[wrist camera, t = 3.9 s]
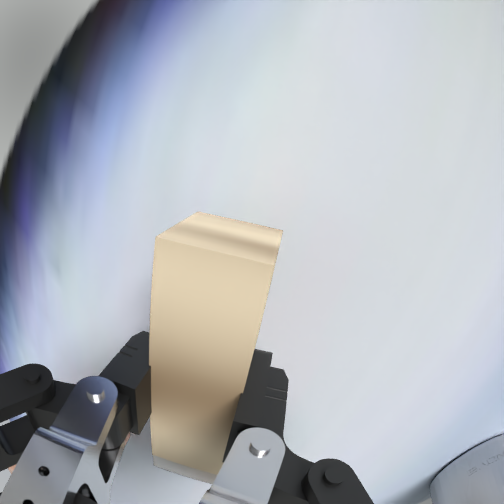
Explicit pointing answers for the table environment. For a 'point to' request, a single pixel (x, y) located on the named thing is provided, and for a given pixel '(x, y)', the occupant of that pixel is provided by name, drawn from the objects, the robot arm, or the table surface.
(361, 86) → the table surface
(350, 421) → the table surface
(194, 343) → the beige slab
